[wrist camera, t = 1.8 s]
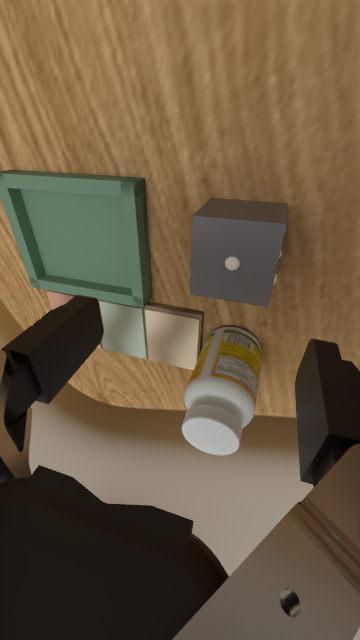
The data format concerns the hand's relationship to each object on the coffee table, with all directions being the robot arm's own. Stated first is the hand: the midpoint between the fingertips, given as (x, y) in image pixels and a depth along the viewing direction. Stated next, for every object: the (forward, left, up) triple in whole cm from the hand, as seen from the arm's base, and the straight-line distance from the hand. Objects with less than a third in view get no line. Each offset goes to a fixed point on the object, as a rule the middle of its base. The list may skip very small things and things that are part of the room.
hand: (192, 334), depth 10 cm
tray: (+13, +2, -12) cm, 18 cm away
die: (0, 0, -12) cm, 12 cm away
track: (+10, +11, -12) cm, 19 cm away
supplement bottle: (-1, +11, -12) cm, 16 cm away
